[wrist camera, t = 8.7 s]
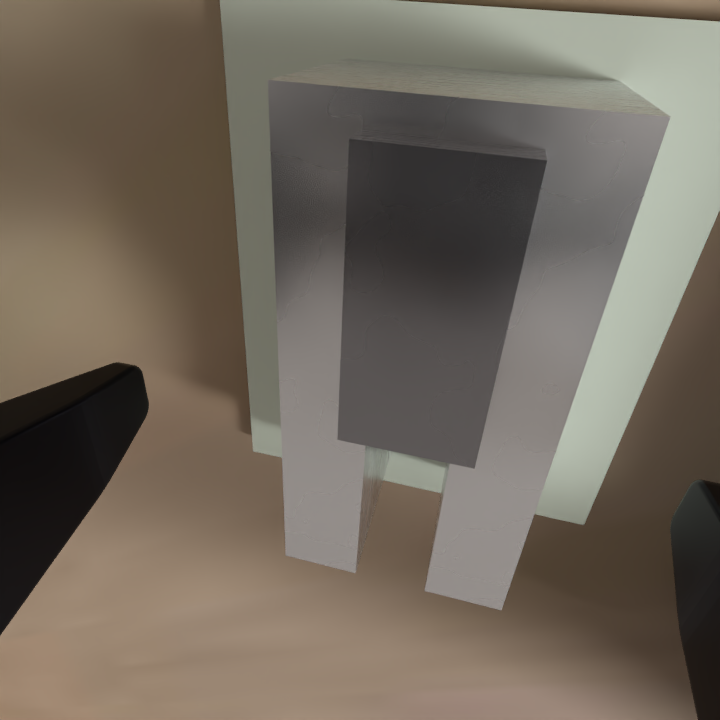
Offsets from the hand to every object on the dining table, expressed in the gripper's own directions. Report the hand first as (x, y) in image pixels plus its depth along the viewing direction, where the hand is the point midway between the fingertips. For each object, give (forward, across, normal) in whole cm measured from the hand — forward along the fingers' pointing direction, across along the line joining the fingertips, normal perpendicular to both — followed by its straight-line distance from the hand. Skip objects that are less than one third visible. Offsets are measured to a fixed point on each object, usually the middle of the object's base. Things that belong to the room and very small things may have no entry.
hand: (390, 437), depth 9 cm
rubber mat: (+6, 0, 0) cm, 6 cm away
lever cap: (+5, 0, 0) cm, 5 cm away
